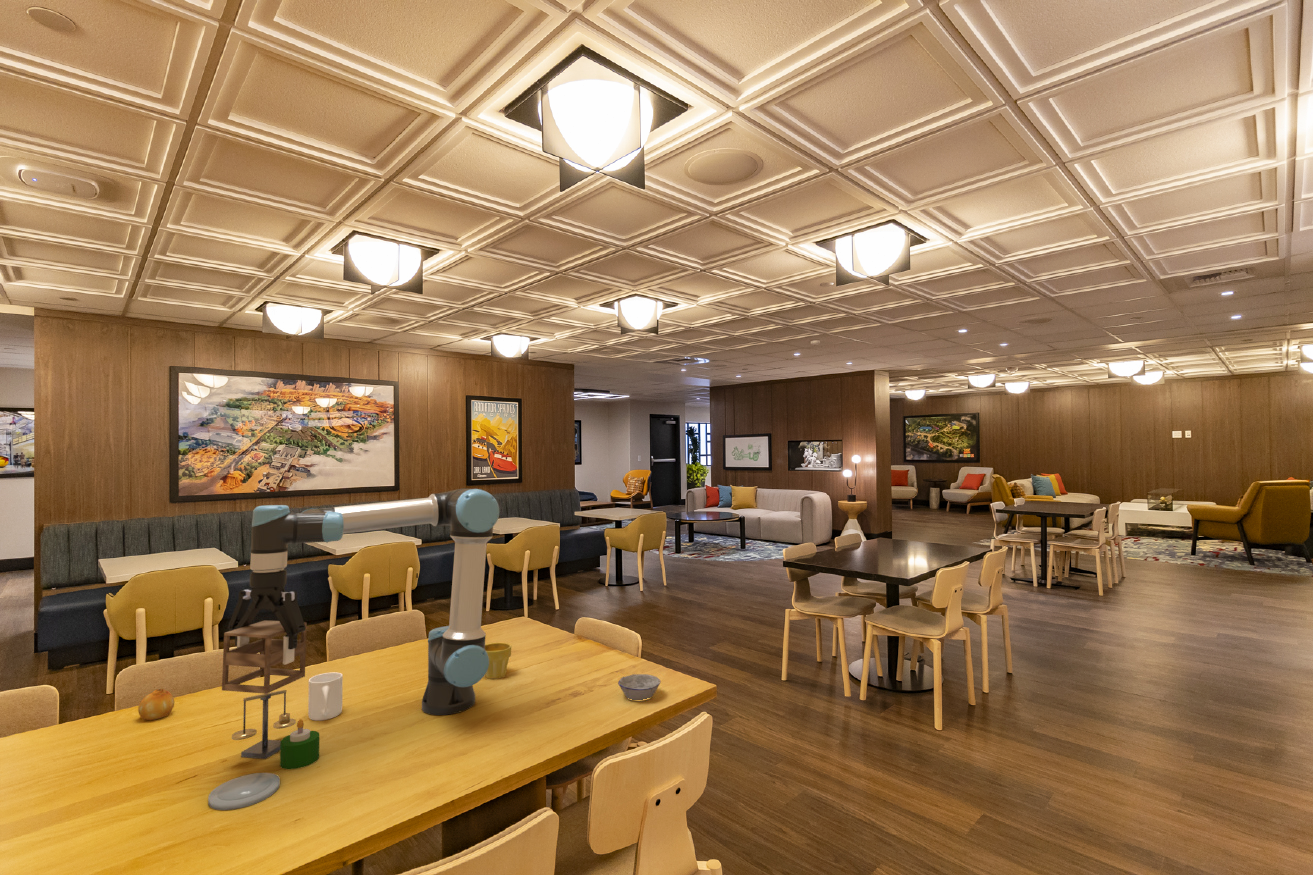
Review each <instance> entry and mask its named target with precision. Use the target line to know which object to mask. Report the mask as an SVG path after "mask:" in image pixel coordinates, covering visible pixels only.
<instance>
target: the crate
mask: <svg viewBox="0 0 1313 875" xmlns="http://www.w3.org/2000/svg"><path fill="white" fill-rule="evenodd" d="M304 624H305V627H306V630H305V631H303V632H300V634H301V635H300V640H297V647H296V648H295V651H294V658H295V657H298V656H299V669H286V668H274V666H276V665H278V664H281V663H283V641H284V639H277V638H275V639H274V638H272V637H276V636H279V635H282V634H285V633H286V632H285V630H284V628H283V627H282V625H281V623H280V621H279V620H267V619H266V620H262V621H258V622H254V623H250V625H248V626H245V627H242V628H238V629H235V630H228V631H226V632H223V652H222V653H223V654H222V674H221V675H222V677H221V678H222V679H221V681H222V682H221V691H225V692H237V693H239V692H240V693H241V692H242V693H251V694H267V693H271V692H275V691H276V690H279V689H281V688H282V687H284V686H287V685H289V684H291V683H294V682H296V681H298V680H300V679H302V678H305V677H306V657H307V656H306V652H307V650H306V649H307V626H308V625H307V622H305V621H304ZM291 630H292V629H291ZM235 636H242V637H249V638H260V639H259V640H256V641H253V642H249V644H247V645H244V646H241V647H238V648H237V647H235V648H233V649H232V648H231V647H230V645H231V641H230V640H231V637H235ZM230 648H231V649H230ZM230 666H237V667H250V668H258V669H257V670H254V671H251V672H249V673H247V674H244V675H242V676H239V677H236V678H235V679H231V680H229V673H230V672H229V671H230V670H229V669H230V668H229V667H230ZM272 667H273V668H272ZM260 676H263V685H252V684H243V683H247V682H248V681H250V680H253V679H256V678H258V677H260ZM271 676H278V677H279V676H281V677H285V678H283V679H280V680H278V681H276V682H274V683H271Z"/></svg>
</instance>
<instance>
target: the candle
mask: <svg viewBox="0 0 1313 875" xmlns="http://www.w3.org/2000/svg"><path fill="white" fill-rule="evenodd" d="M304 725H305V723H304V720H303V719H302V718H299V719H298V721H297V724H296V727H297V730H294V731H292V732H290V734H288V735H286V736H285V737H283V738H282V739H280V740H279V741H280V751H279V766H280V768H281V769H283V770H297V769H302V768H305V767H309V766H310V765H312V764H314V763H316V762H318V760H319V759H320V732H319V731H316V730H311V729H310V728H309V729H308V728H304Z"/></svg>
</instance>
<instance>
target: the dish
mask: <svg viewBox="0 0 1313 875" xmlns="http://www.w3.org/2000/svg"><path fill="white" fill-rule="evenodd" d="M280 780H281V779H280V777H279V775H278V774H276V773H274V772H273V773H271V772H257V773H250V774H245V775H241V776H238V777H235V778H232V779H229V780H228V781H225V782H223V783H221V784H220V785H218V786H217V787H214V788H213V789H212V790H211V792H210V793H209V794H208V797H207V798H208V800H207V802H208V803H207V804H208V807H210V808H211V809H213V810H217V811H230V810H231V811H232V810H237V809H238V810H239V809H242V808H247V807H250V806H252V805H255V804H257V803H260V802H262V801H264V800H266V799H268V798H270V797H271V796H273V795H274V794H275V793H276V792H277V791H278V790H279V788H280V784H281V781H280Z"/></svg>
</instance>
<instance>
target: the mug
mask: <svg viewBox="0 0 1313 875" xmlns="http://www.w3.org/2000/svg"><path fill="white" fill-rule="evenodd" d="M343 682H344V681H343V673H341V672H336V671H335V672H334V671H333V672H325V673H320V674H319V673H318V674H316V675H313V676H312V677H310V678H309V679H308V701H307V702H308V709H307V711H308V718H309V719H310V720H311V721H317V722H318V721H325V720H327V721H328V720H330V719H334V718H337V717H338V716H339V715H340V714H341V713H342V711H343Z"/></svg>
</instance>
